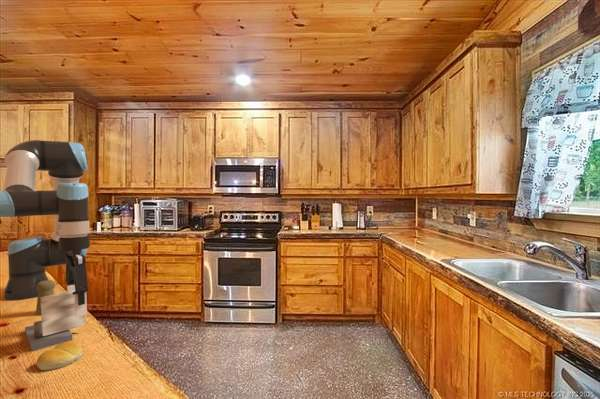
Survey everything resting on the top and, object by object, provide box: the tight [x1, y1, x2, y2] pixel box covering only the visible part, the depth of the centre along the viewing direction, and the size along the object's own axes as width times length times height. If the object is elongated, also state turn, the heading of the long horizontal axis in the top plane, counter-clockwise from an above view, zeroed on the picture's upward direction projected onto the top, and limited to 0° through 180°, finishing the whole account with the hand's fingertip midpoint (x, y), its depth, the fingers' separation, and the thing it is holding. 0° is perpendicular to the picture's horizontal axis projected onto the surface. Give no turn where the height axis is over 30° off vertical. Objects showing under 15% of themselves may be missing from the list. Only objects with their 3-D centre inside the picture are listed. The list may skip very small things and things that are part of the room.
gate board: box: [24, 324, 73, 352], centre depth 95 cm, size 17×9×2 cm, turn 44°
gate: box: [33, 291, 86, 338], centre depth 93 cm, size 12×3×10 cm, turn 134°
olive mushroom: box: [35, 279, 56, 316], centre depth 114 cm, size 6×6×11 cm
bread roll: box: [36, 341, 84, 371], centre depth 81 cm, size 8×9×4 cm
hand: (77, 310), depth 96 cm, fingers open, 10 cm apart
